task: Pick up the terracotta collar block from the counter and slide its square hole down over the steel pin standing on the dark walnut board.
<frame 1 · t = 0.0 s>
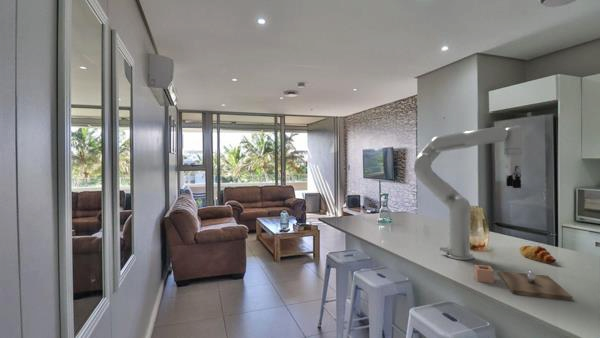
hand: (513, 187, 146), 37 cm above the counter, tool pointing down, fingers open, 9 cm apart
croissant: (536, 258, 150), on the counter
steel pin: (531, 276, 118), on the walnut board, point 4 cm above the counter
walnut board: (531, 286, 118), on the counter
collar block: (483, 279, 126), on the counter
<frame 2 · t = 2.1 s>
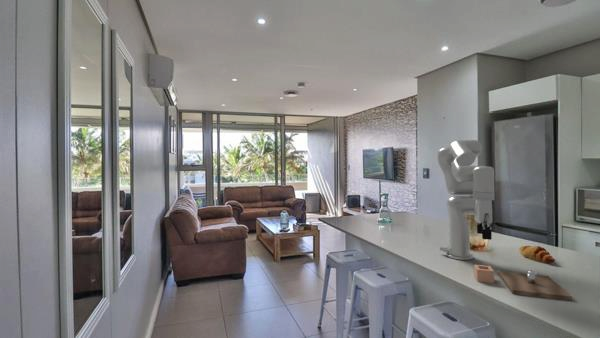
hand: (483, 236, 125), 18 cm above the counter, tool pointing down, fingers open, 9 cm apart
nothing on the counter moved.
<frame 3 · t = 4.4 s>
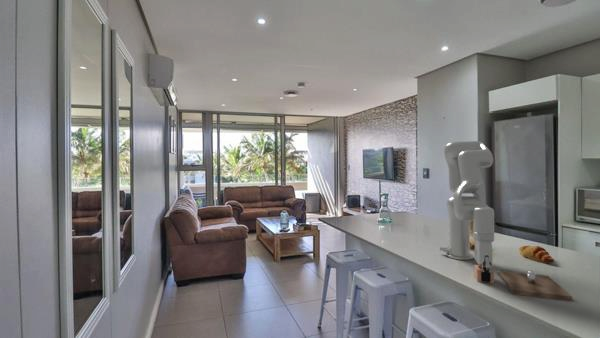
hand: (483, 278, 126), 1 cm above the counter, tool pointing down, fingers closed on collar block, 6 cm apart
collar block: (483, 279, 126), on the counter, touching gripper
everything else where it was.
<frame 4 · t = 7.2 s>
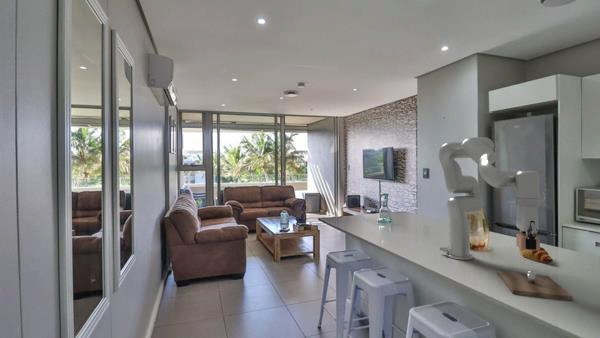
hand: (527, 246, 118), 16 cm above the counter, tool pointing down, fingers closed on collar block, 6 cm apart
collar block: (527, 248, 118), point 15 cm above the counter, touching gripper
everything else where it was.
when the fingers open (3 cm above the counter, at t = 10.2 s): collar block stays where it is, resting on walnut board.
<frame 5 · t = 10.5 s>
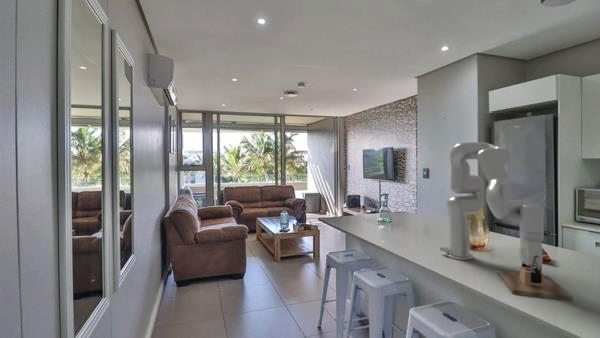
hand: (531, 278, 118), 3 cm above the counter, tool pointing down, fingers open, 9 cm apart
collar block: (531, 282, 118), point 1 cm above the counter, touching walnut board
everything else where it was.
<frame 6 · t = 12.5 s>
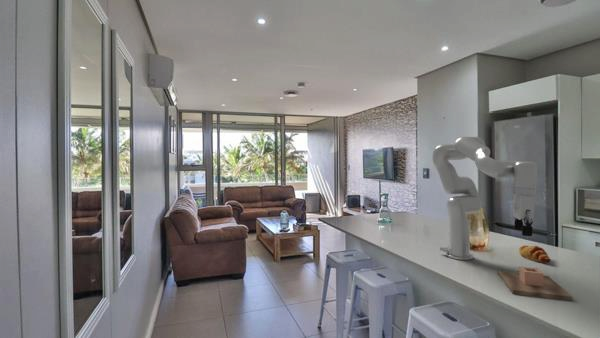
hand: (522, 232, 123), 20 cm above the counter, tool pointing down, fingers open, 9 cm apart
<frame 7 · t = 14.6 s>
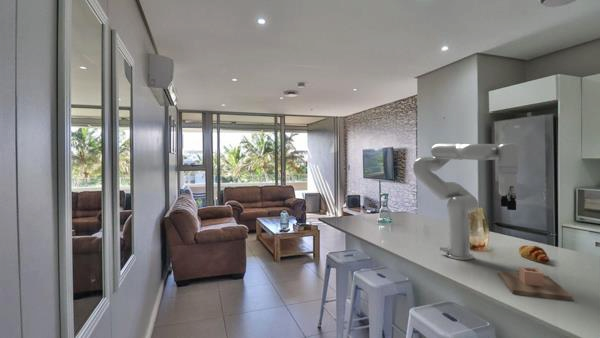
hand: (508, 208, 135), 28 cm above the counter, tool pointing down, fingers open, 9 cm apart
at the end: collar block 0.1 cm off-centre on the steel pin, point 1.5 cm above the steel pin's base; collar block tilted 0°; the gripper is holding nothing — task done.
